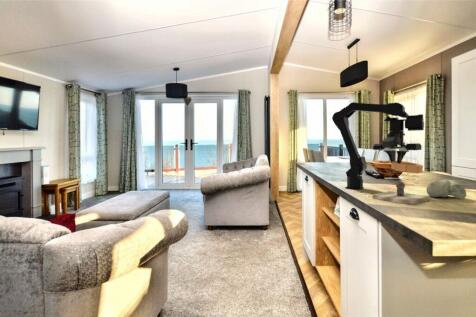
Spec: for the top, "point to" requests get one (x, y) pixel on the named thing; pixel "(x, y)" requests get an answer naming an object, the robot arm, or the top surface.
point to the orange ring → (407, 167)
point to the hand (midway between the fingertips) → (395, 165)
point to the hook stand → (401, 196)
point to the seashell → (446, 189)
